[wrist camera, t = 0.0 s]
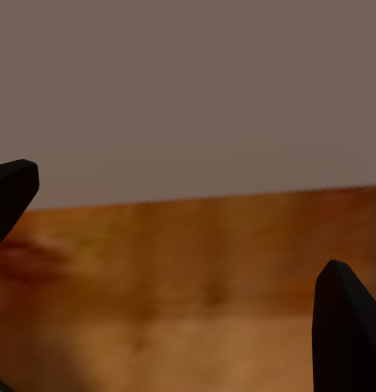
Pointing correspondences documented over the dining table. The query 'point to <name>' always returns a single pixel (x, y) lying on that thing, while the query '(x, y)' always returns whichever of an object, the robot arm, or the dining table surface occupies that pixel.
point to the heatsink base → (4, 388)
